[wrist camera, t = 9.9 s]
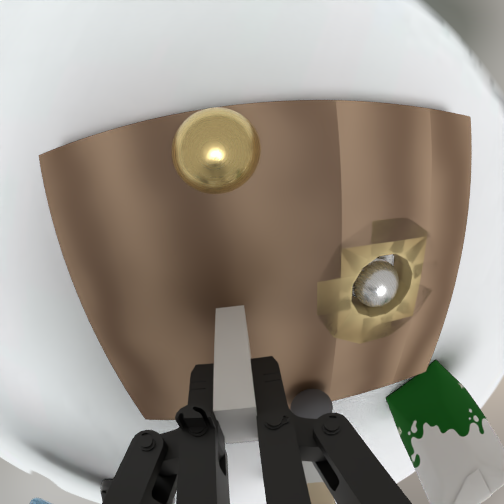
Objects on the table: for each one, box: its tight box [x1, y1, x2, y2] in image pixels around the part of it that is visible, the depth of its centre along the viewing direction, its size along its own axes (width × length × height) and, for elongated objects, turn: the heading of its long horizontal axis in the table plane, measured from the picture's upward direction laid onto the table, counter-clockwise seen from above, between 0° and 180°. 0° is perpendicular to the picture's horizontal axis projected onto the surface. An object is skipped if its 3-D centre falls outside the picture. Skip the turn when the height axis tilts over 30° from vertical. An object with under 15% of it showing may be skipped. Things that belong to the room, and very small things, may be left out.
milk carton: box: [386, 360, 504, 504], centre depth 17 cm, size 9×9×20 cm
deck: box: [39, 100, 471, 420], centre depth 17 cm, size 26×22×2 cm
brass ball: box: [171, 107, 261, 194], centre depth 11 cm, size 4×4×4 cm
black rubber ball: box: [290, 389, 333, 419], centre depth 18 cm, size 3×3×3 cm
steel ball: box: [353, 258, 399, 307], centre depth 17 cm, size 3×3×3 cm
